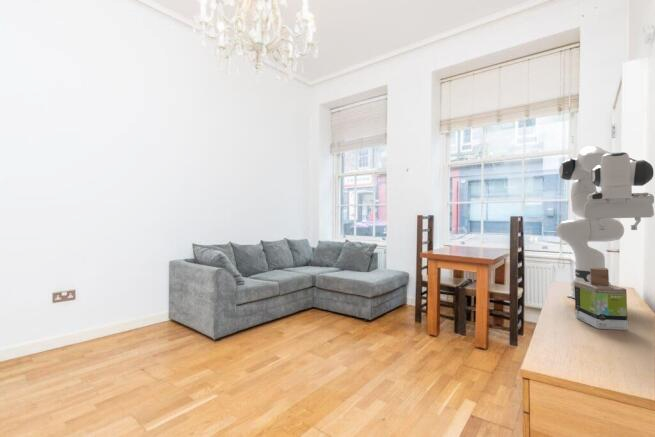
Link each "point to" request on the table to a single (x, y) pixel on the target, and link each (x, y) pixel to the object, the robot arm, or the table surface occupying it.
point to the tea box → (601, 305)
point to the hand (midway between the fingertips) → (617, 230)
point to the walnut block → (599, 276)
